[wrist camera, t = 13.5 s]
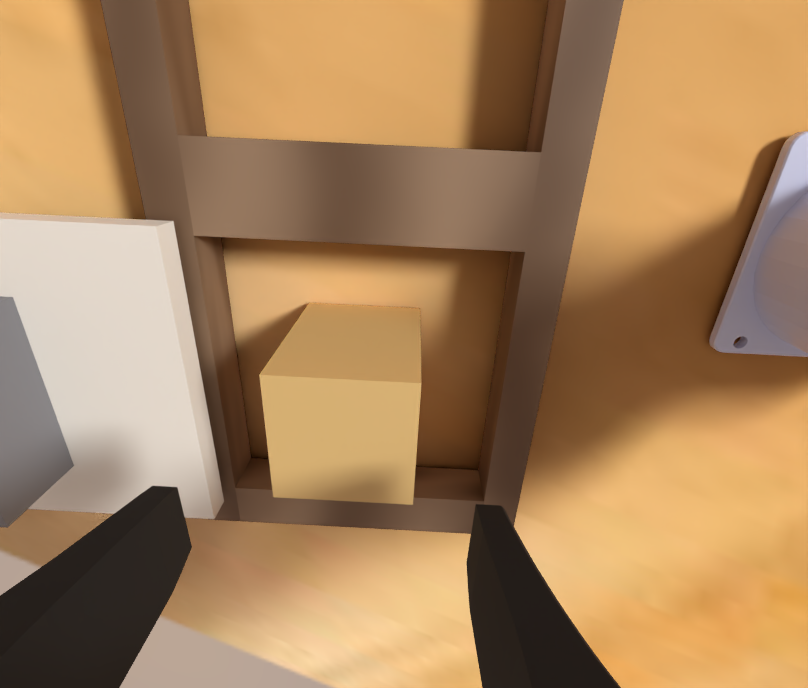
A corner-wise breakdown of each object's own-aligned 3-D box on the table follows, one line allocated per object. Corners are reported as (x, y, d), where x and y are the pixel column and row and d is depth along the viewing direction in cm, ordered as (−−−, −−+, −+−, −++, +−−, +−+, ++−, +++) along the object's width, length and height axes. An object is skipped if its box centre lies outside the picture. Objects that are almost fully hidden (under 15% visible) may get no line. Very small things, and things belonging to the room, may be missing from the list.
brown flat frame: (695, -512, 9) (764, -676, 7) (503, 502, 21) (511, 535, 20) (-498, -554, 9) (-720, -724, 7) (-10, 475, 22) (-50, 505, 20)
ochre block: (420, 308, 17) (421, 383, 12) (414, 402, 19) (413, 504, 14) (309, 302, 17) (258, 375, 12) (314, 397, 19) (273, 497, 14)
